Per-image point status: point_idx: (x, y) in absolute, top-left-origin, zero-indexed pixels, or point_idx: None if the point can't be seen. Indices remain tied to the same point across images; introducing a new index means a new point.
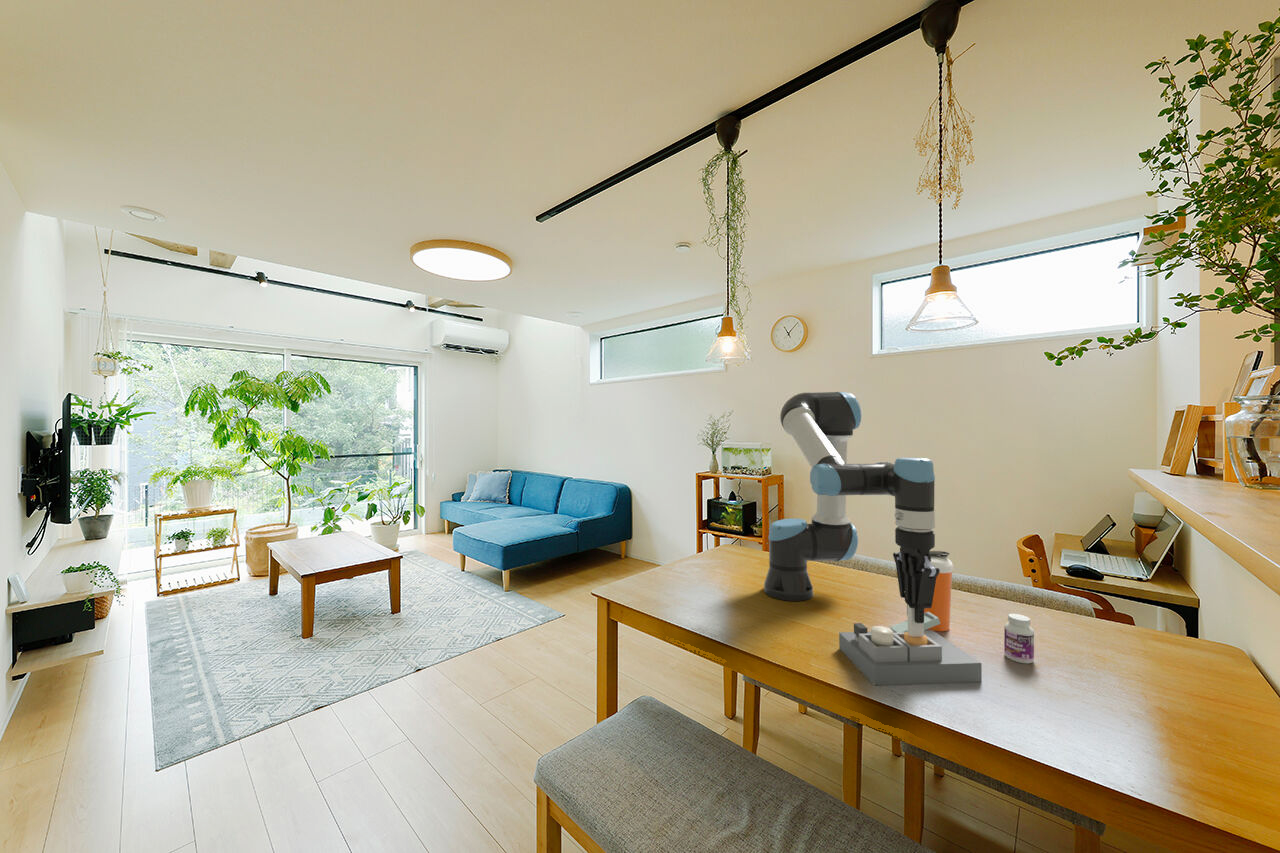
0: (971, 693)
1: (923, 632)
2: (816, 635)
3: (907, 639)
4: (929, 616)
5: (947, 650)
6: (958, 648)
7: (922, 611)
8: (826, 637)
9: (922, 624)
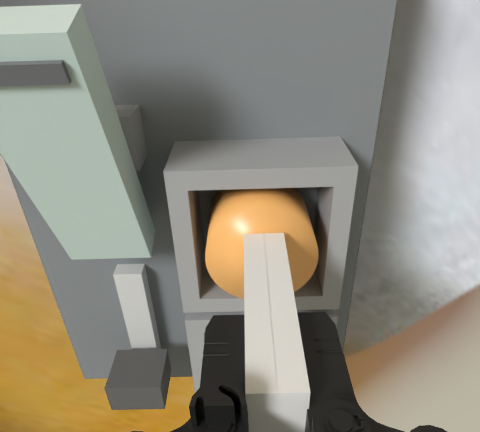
0: (441, 56)
1: (286, 249)
2: (10, 355)
3: None
4: (32, 83)
5: (239, 32)
6: None
7: (352, 398)
8: (18, 335)
9: (292, 287)
